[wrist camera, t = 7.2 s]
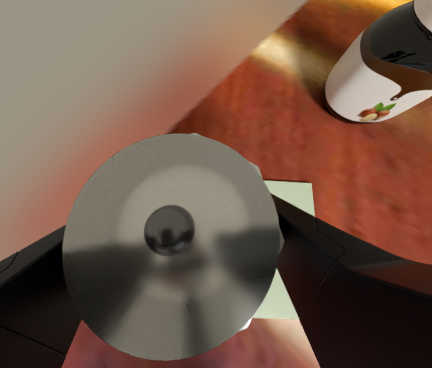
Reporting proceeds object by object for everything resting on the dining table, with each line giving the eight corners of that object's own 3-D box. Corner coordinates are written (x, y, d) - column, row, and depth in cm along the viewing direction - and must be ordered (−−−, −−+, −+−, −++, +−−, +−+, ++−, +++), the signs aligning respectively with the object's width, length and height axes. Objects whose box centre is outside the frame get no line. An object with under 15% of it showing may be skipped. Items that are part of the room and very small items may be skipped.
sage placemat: (322, 318, 16) (324, 320, 16) (240, 315, 16) (241, 317, 16) (309, 183, 20) (311, 183, 20) (241, 179, 20) (242, 179, 19)
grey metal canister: (244, 251, 14) (359, 352, 3) (168, 274, 14) (-10, 502, 3) (223, 180, 16) (254, 86, 5) (154, 197, 15) (7, 133, 4)
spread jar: (311, 115, 22) (415, 9, 11) (321, 59, 25) (413, -74, 14) (392, 138, 22) (584, 52, 11) (393, 78, 25) (549, -41, 13)
